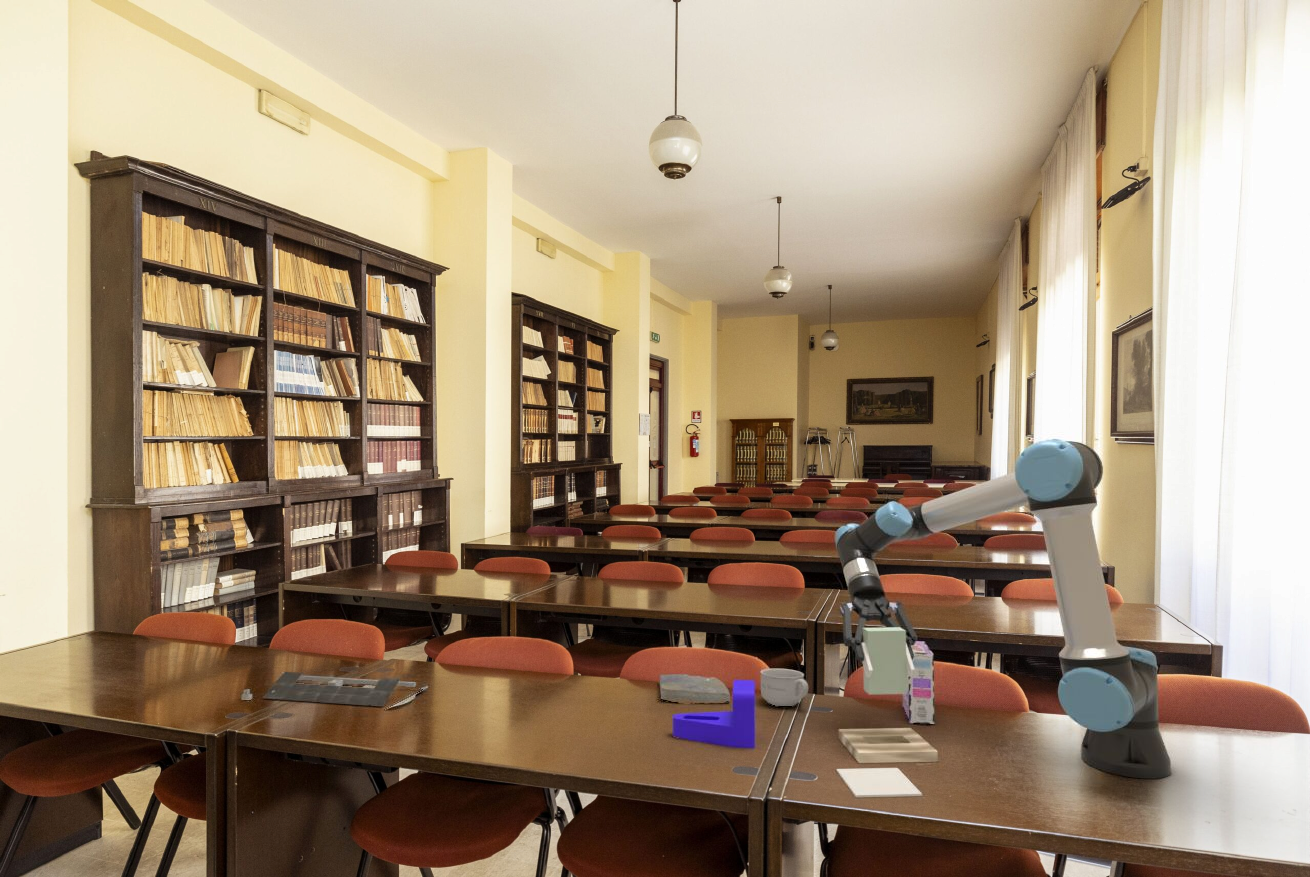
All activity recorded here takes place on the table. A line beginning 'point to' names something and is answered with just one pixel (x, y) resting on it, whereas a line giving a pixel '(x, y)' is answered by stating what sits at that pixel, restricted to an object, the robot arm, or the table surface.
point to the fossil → (693, 688)
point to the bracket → (723, 721)
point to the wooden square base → (887, 745)
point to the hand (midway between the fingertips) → (890, 673)
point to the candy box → (920, 686)
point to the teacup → (783, 686)
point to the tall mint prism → (886, 660)
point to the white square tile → (878, 782)
